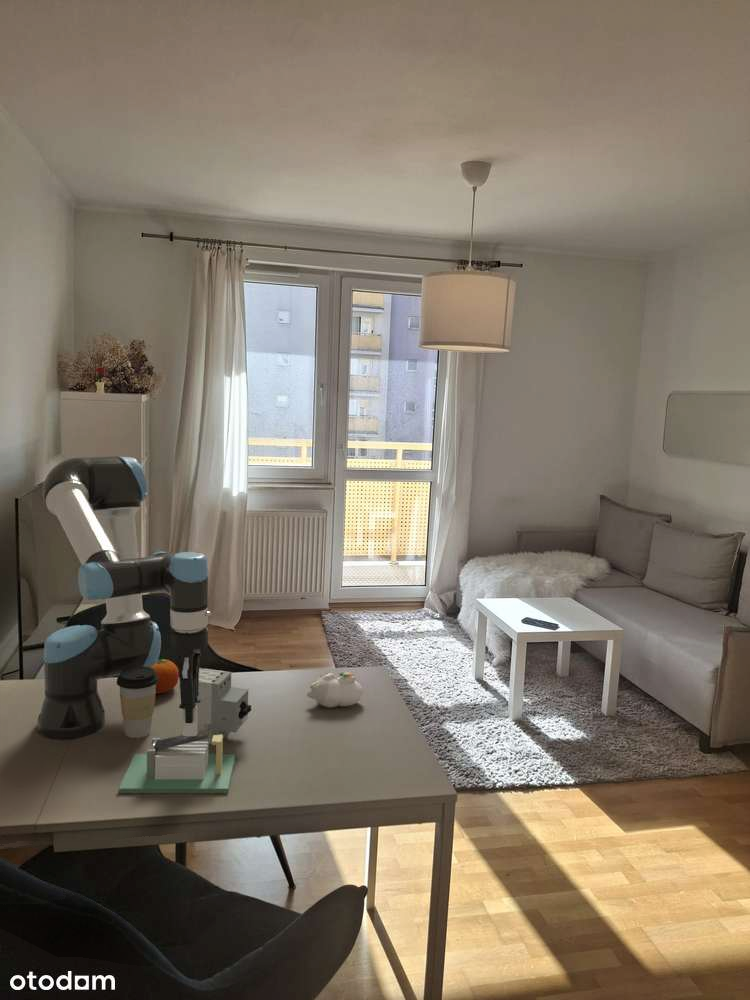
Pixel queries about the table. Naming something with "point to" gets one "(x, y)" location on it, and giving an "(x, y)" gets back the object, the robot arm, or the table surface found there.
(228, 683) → the circuit breaker
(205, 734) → the grey lever
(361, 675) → the table surface
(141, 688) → the coffee cup
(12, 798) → the table surface
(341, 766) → the table surface
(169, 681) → the fruit
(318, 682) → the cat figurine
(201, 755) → the board
